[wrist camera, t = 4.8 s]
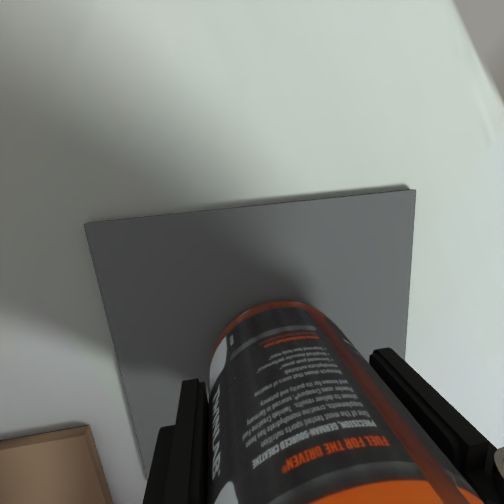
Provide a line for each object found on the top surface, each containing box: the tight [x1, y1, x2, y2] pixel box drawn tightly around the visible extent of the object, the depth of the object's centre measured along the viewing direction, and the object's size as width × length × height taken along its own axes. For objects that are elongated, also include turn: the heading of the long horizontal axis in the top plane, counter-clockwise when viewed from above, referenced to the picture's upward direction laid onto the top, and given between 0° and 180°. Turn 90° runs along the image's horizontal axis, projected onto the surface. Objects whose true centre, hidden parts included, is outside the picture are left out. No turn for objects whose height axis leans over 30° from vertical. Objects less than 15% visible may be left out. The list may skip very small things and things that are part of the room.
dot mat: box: [84, 189, 416, 479], centre depth 13 cm, size 13×13×1 cm
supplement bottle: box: [206, 301, 484, 504], centre depth 7 cm, size 6×6×11 cm
